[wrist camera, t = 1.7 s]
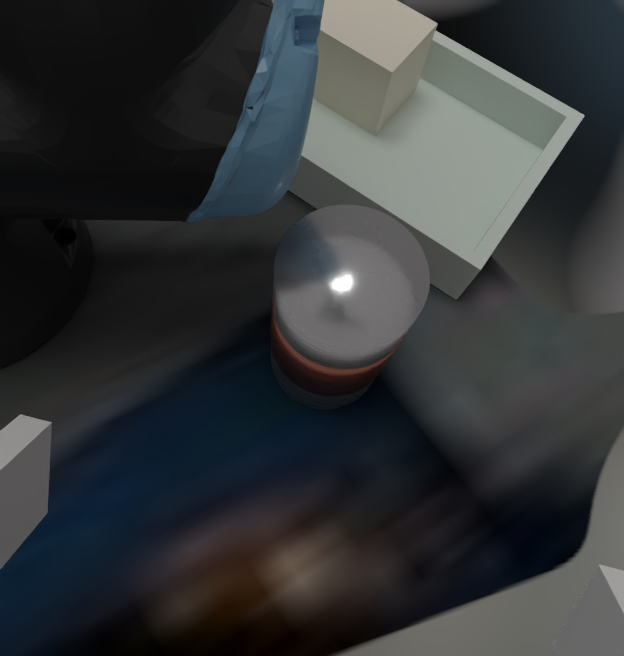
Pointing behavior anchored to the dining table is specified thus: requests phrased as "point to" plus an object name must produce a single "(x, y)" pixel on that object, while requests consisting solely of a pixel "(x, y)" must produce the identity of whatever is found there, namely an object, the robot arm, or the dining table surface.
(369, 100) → the beige rectangular block
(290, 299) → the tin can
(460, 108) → the tote
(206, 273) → the dining table surface
